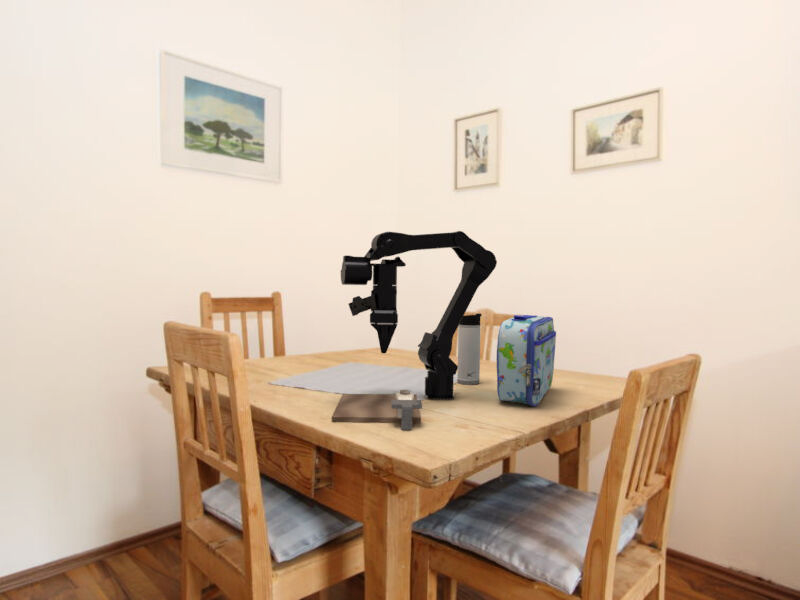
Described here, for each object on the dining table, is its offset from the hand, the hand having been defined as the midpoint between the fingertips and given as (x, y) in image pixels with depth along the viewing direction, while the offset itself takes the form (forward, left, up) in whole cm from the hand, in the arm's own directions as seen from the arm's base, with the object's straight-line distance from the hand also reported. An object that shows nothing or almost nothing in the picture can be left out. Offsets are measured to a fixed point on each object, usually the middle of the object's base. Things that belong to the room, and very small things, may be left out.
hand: (383, 350), depth 118 cm
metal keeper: (-5, +20, -12) cm, 24 cm away
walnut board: (+1, +8, -12) cm, 15 cm away
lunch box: (-36, -5, -12) cm, 38 cm away
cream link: (-5, +12, -11) cm, 17 cm away
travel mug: (-24, -22, -12) cm, 35 cm away
